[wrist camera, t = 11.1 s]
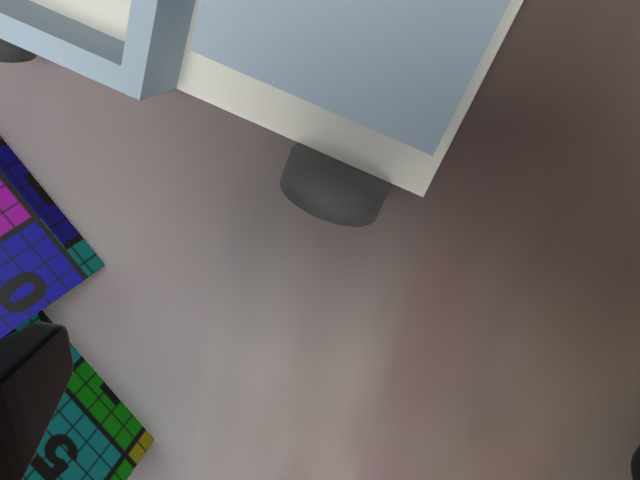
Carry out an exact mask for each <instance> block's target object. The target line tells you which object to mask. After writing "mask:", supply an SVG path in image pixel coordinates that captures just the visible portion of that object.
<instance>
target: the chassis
mask: <svg viewBox="0 0 640 480" xmlns="http://www.w3.org/2000/svg"><path fill="white" fill-rule="evenodd" d="M523 1H524V0H0V62H9V63H15V62H26V61H30V60H32V59H34V58H35V57H36V56H37V55H39V56H41V57H43V58H45V59H48V60H50V61H52V62H54V63H57V64H59V65H61V66H63V67H66V68H68V69H70V70H72V71H75V72H77V73H79V74H81V75H84V76H86V77H88V78H90V79H93V80H95V81H97V82H99V83H102V84H104V85H106V86H108V87H111V88H113V89H115V90H117V91H120V92H122V93H124V94H126V95H129V96H131V97H133V98H135V99H138V100H142V99H145V98H148V97H152V96H155V95H158V94H161V93H164V92H167V91H170V90H173V89H179V90H181V91H183V92H185V93H188V94H190V95H192V96H194V97H197V98H199V99H201V100H203V101H206V102H208V103H210V104H213V105H215V106H217V107H219V108H222V109H224V110H226V111H228V112H231V113H233V114H235V115H238V116H240V117H242V118H244V119H247V120H249V121H251V122H253V123H256V124H258V125H260V126H262V127H265V128H267V129H269V130H272V131H274V132H276V133H278V134H281V135H283V136H285V137H287V138H290V139H292V140H294V141H296V142H299V143H300V144H297V145H295V146H293V147H292V149H291V152H290V155H289V157H288V160H287V163H286V166H285V169H284V172H283V175H282V178H281V181H280V186H281V189H282V191H283V193H284V194H285V195H286V196H287V198H288V199H289V200H291V201H292V202H293V203H294V204H295V205H297V206H298V207H300V208H301V209H303V210H304V211H306V212H308V213H310V214H312V215H314V216H316V217H318V218H320V219H323V220H326V221H329V222H332V223H335V224H339V225H344V226H354V227H358V226H366V225H369V224H371V223H373V222H374V221H375V219H376V217H377V215H378V213H379V210H380V208H381V206H382V204H383V202H384V200H385V198H386V195H387V193H388V191H389V189H390V184H389V183H392V184H394V185H396V186H399V187H401V188H403V189H405V190H408V191H410V192H412V193H414V194H417V195H419V196H421V197H424V195H425V193H426V191H427V189H428V187H429V185H430V183H431V181H432V179H433V177H434V175H435V173H436V171H437V169H438V167H439V165H440V163H441V161H442V159H443V158H444V156H445V154H446V152H447V150H448V148H449V146H450V144H451V142H452V140H453V138H454V136H455V134H456V132H457V130H458V128H459V126H460V124H461V122H462V120H463V118H464V116H465V114H466V112H467V110H468V109H469V107H470V105H471V103H472V101H473V99H474V97H475V95H476V93H477V91H478V89H479V87H480V85H481V83H482V81H483V79H484V77H485V75H486V73H487V71H488V69H489V67H490V65H491V63H492V61H493V60H494V58H495V56H496V54H497V52H498V50H499V48H500V46H501V44H502V42H503V40H504V38H505V36H506V34H507V32H508V30H509V28H510V26H511V24H512V22H513V20H514V18H515V16H516V14H517V12H518V10H519V9H520V7H521V5H522V3H523Z"/></svg>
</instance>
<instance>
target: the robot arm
mask: <svg viewBox="0 0 640 480" xmlns="http://www.w3.org/2000/svg"><path fill="white" fill-rule="evenodd" d="M73 367H74V364H73V357H72V352H71V346H70V341H69V336H68V331H67V329H66V328H65V327H64V326H62V325H59V324H53V323H47V322H35V323H33V324H31V325H29V326H27V327H25V328H23V329H21V330H19V331H17V332H15V333H13V334H11V335H9V336H7V337H5V338H3V339H1V340H0V480H22V478H23V476H24V475H25V473H26V471H27V469H28V467H29V465H30V463H31V461H32V459H33V457H34V455H35V453H36V451H37V449H38V447H39V445H40V443H41V441H42V439H43V436H44V434H45V432H46V430H47V428H48V426H49V424H50V422H51V420H52V417H53V415H54V413H55V411H56V409H57V407H58V405H59V403H60V401H61V398H62V396H63V394H64V392H65V390H66V388H67V386H68V384H69V382H70V379H71V377H72V373H73ZM631 473H632V478H633V480H640V445H639V447H638V448H637V450H636V451H635V452H634V454H633V456H632V460H631Z"/></svg>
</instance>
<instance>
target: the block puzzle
mask: <svg viewBox="0 0 640 480" xmlns="http://www.w3.org/2000/svg"><path fill="white" fill-rule="evenodd" d="M102 266H104V263H103V262H102V261H101V260H100V258H99V257H98V256H97V255H96V254H95V252H94V251H93V250H92V249H91V247H90V246H89V245H88V244H87V242H86V241H85V240H84V239H83V238H82V236H81V235H80V234H79V233H78V231H77V230H76V229H75V228H74V226H73V225H72V224H71V223H70V222H69V220H68V219H67V218H66V217H65V215H64V214H63V213H62V212H61V210H60V209H59V208H58V207H57V205H56V204H55V203H54V202H53V201H52V199H51V198H50V197H49V196H48V194H47V193H46V192H45V191H44V189H43V188H42V187H41V186H40V185H39V183H38V182H37V181H36V180H35V178H34V177H33V176H32V175H31V173H30V172H29V171H28V170H27V169H26V167H25V166H24V165H23V164H22V162H21V161H20V160H19V159H18V157H17V156H16V155H15V154H14V152H13V151H12V150H11V149H10V148H9V146H8V145H7V144H6V143H5V141H4V140H3V139H2V138H1V136H0V340H1V339H3V338H5V337H7V336H9V335H11V334H13V333H15V332H17V331H19V330H21V329H23V328H25V327H27V326H29V325H31V324H33V323H35V322H47V323H52V322H51V320H50V319H49V318H48V317H47V316H46V315H45V313H44V312H43V311H42V309H44V308H45V307H46V306H48V305H49V304H51V303H52V302H54V301H55V300H56V299H58V298H59V297H61V296H62V295H64V294H65V293H66V292H68V291H69V290H71V289H72V288H74V287H75V286H76V285H78V284H79V283H81V282H82V281H84V280H85V279H86V278H88V277H89V276H91V275H92V274H93V273H95V272H96V271H97V270H99V269H100V268H101V267H102ZM70 346H71V352H72V357H73V364H74V367H73V373H72V377H71V379H70V382H69V384H68V386H67V388H66V390H65V392H64V394H63V396H62V398H61V401H60V403H59V405H58V407H57V409H56V411H55V413H54V415H53V417H52V420H51V422H50V424H49V426H48V428H47V430H46V432H45V434H44V436H43V439H42V441H41V443H40V445H39V447H38V449H37V451H36V453H35V455H34V457H33V459H32V461H31V463H30V465H29V467H28V469H27V471H26V473H25V475H24V476H23V478H22V480H127V478H128V477H129V475H130V474H131V472H132V471H133V469H134V468H135V466H136V465H137V464H138V462H139V461H140V459H141V458H142V456H143V455H144V453H145V452H146V451H147V449H148V448H149V446H150V445H151V443H152V442H153V440H154V439H153V438H152V436H151V435H150V434H149V433H148V432H147V431H146V430H145V428H144V427H143V426H142V425H141V424H140V423H139V422H138V420H137V419H136V418H135V417H134V416H133V415H132V413H131V412H130V411H129V410H128V409H127V408H126V407H125V405H124V404H123V403H122V402H121V401H120V400H119V399H118V397H117V396H116V395H115V394H114V393H113V392H112V390H111V389H110V388H109V387H108V386H107V385H106V384H105V382H104V381H103V380H102V379H101V378H100V377H99V376H98V374H97V373H96V372H95V371H94V370H93V369H92V368H91V366H90V365H89V364H88V363H87V362H86V361H85V359H84V358H83V357H82V356H81V355H80V354H79V353H78V351H77V350H76V349H75V348H74V347H73V346H72V345H71V343H70Z"/></svg>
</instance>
